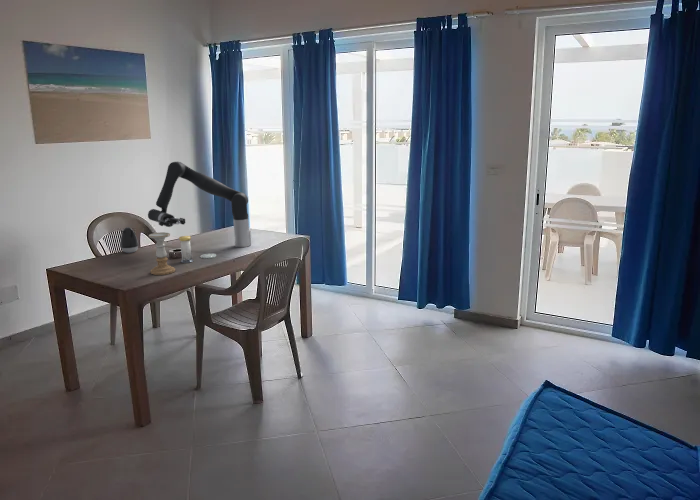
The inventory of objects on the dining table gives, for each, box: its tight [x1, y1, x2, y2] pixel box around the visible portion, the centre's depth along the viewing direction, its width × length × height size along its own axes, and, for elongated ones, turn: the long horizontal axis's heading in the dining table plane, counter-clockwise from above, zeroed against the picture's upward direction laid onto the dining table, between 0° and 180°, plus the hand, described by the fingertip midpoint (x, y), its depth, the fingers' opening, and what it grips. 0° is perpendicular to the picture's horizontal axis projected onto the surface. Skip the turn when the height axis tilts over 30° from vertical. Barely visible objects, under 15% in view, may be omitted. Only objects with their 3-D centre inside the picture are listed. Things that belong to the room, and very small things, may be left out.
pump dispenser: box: [119, 227, 139, 254], centre depth 320 cm, size 10×10×15 cm
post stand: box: [180, 258, 194, 264], centre depth 298 cm, size 7×7×2 cm
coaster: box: [200, 253, 217, 259], centre depth 309 cm, size 9×9×1 cm
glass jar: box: [178, 235, 192, 260], centre depth 296 cm, size 6×6×12 cm
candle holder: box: [148, 232, 176, 276], centre depth 275 cm, size 12×12×20 cm
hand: (176, 223), depth 302 cm, fingers open, 8 cm apart
